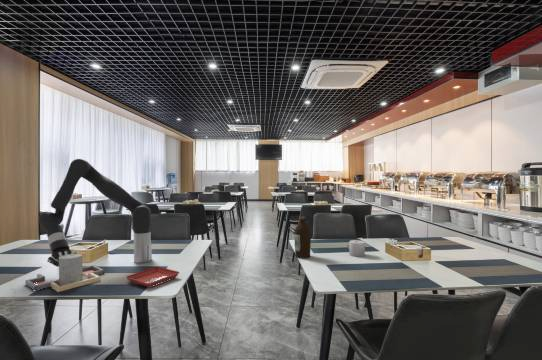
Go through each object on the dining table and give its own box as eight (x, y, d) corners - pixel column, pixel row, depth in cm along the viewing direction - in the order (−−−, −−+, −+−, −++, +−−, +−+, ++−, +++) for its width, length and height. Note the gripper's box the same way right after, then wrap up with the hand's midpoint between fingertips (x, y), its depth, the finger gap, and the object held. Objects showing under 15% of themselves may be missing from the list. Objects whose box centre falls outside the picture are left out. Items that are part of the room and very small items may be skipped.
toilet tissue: (350, 251, 197) (350, 238, 196) (367, 255, 186) (367, 241, 186) (341, 253, 191) (341, 240, 191) (359, 257, 181) (359, 244, 180)
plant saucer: (148, 290, 130) (148, 283, 130) (124, 283, 140) (124, 276, 140) (180, 278, 146) (180, 271, 146) (157, 272, 155) (157, 266, 155)
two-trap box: (21, 281, 141) (21, 277, 141) (88, 266, 164) (88, 263, 164) (41, 296, 123) (41, 291, 123) (113, 277, 147) (112, 273, 147)
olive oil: (305, 253, 191) (305, 215, 191) (314, 257, 181) (314, 217, 181) (291, 255, 187) (291, 216, 186) (299, 259, 177) (299, 218, 177)
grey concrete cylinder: (87, 279, 143) (86, 254, 143) (66, 286, 135) (66, 259, 135) (75, 276, 148) (75, 252, 147) (54, 283, 139) (54, 257, 139)
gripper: (44, 241, 145) (52, 270, 138) (74, 236, 155) (84, 264, 148) (41, 250, 148) (49, 279, 141) (71, 245, 159) (80, 272, 151)
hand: (67, 271), depth 144 cm, fingers closed
